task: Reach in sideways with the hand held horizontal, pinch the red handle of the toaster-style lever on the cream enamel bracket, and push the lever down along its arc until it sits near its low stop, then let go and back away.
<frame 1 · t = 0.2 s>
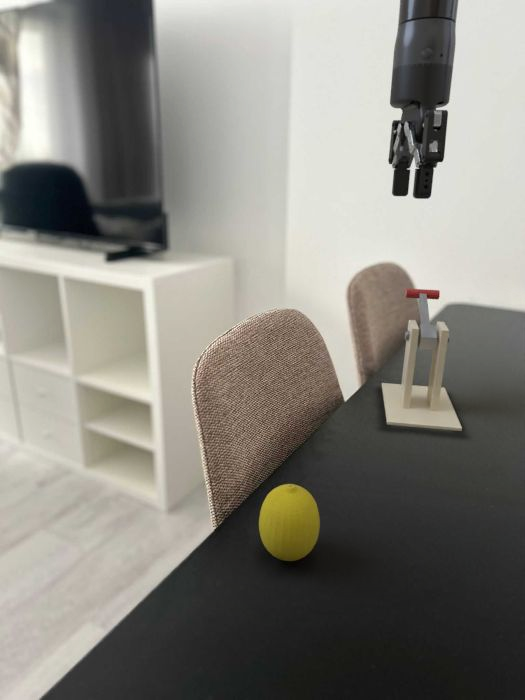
hand: (409, 197, 71), 31 cm above the table, tool pointing down, fingers open, 8 cm apart
lemon: (287, 560, 48), on the table
lever: (424, 315, 77), point 14 cm above the table, hinge at 25.0°
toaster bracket: (417, 412, 77), on the table
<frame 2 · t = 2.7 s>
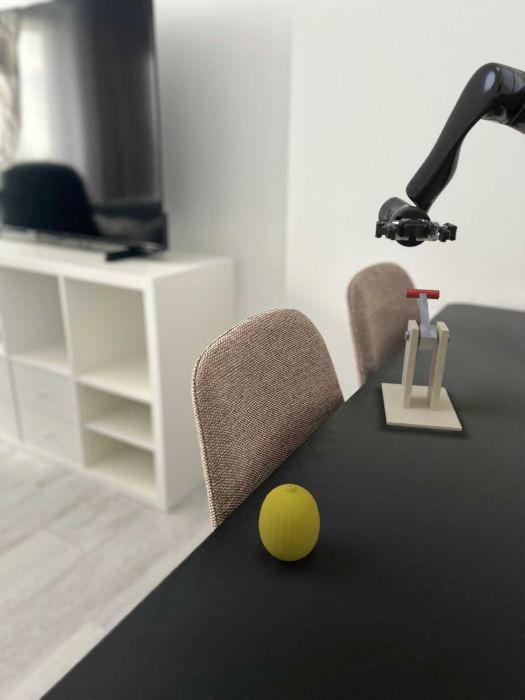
hand: (419, 235, 88), 24 cm above the table, tool horizontal, fingers open, 8 cm apart
nothing on the table moved.
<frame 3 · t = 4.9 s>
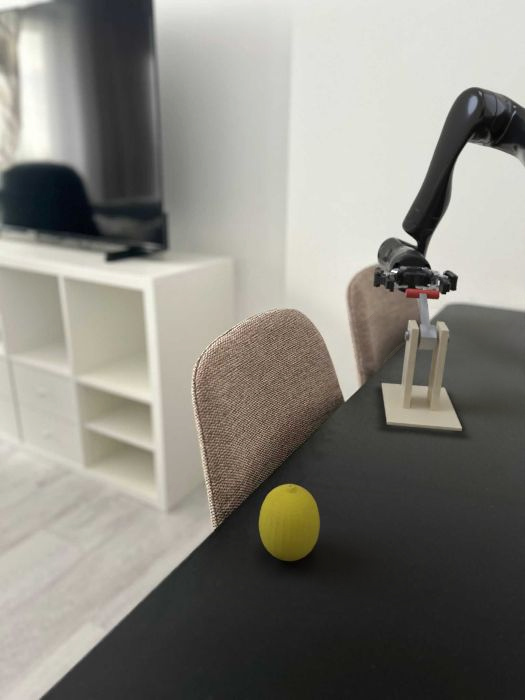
hand: (418, 287, 85), 16 cm above the table, tool horizontal, fingers open, 8 cm apart
nothing on the table moved.
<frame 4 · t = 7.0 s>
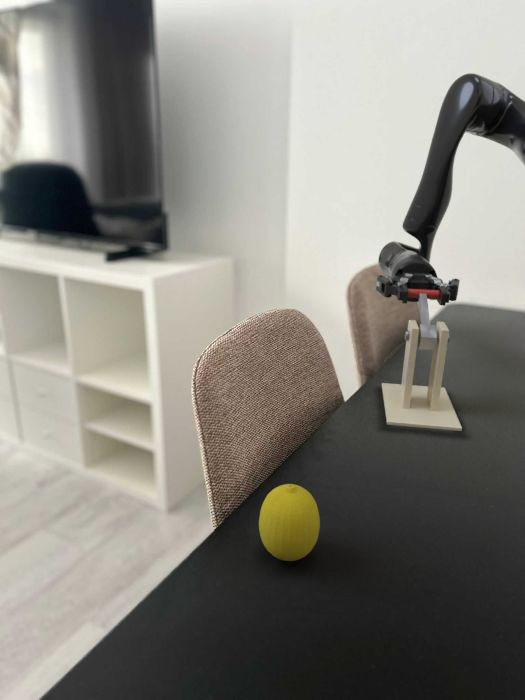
hand: (424, 297, 78), 16 cm above the table, tool horizontal, fingers closed on lever, 5 cm apart
lever: (424, 315, 77), point 14 cm above the table, hinge at 25.0°, touching gripper
everything else where it was.
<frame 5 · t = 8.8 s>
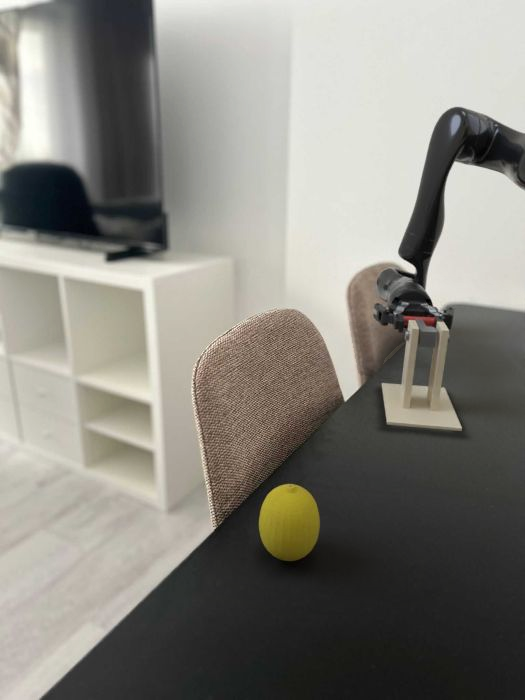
hand: (420, 327, 81), 11 cm above the table, tool horizontal, fingers closed on lever, 5 cm apart
lever: (422, 329, 78), point 12 cm above the table, hinge at -2.7°, touching gripper
everything else where it was.
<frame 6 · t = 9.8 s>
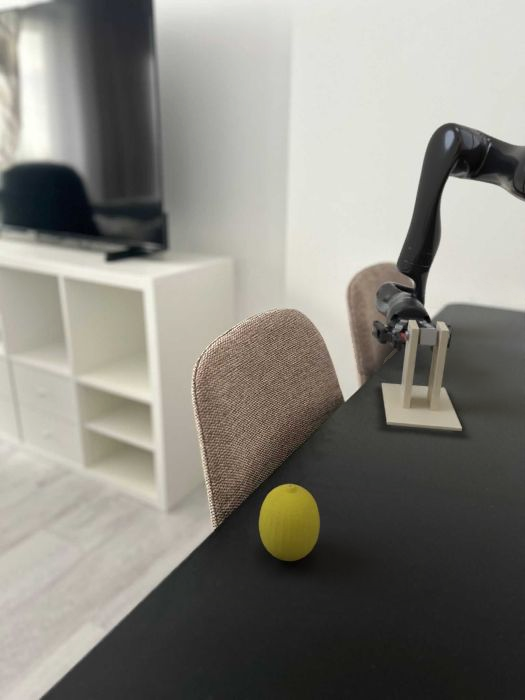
hand: (418, 346, 81), 8 cm above the table, tool horizontal, fingers closed on lever, 5 cm apart
lever: (421, 337, 78), point 10 cm above the table, hinge at -19.2°, touching gripper
everything else where it was.
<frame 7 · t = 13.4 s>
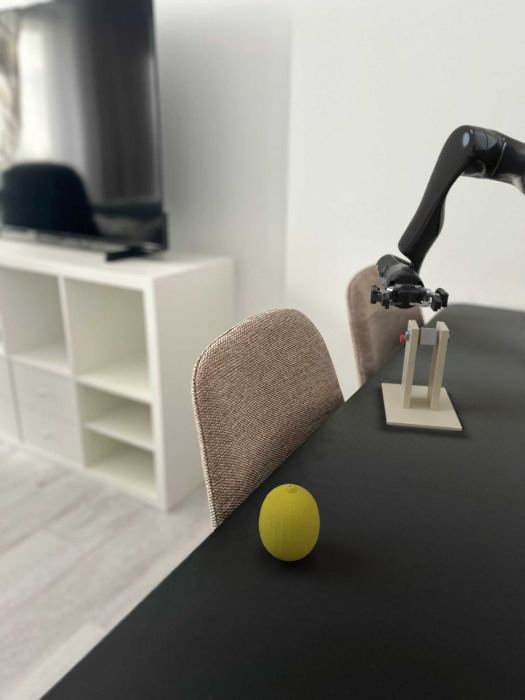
hand: (411, 304, 92), 12 cm above the table, tool horizontal, fingers open, 8 cm apart
lever: (421, 338, 78), point 10 cm above the table, hinge at -20.3°
everything else where it was.
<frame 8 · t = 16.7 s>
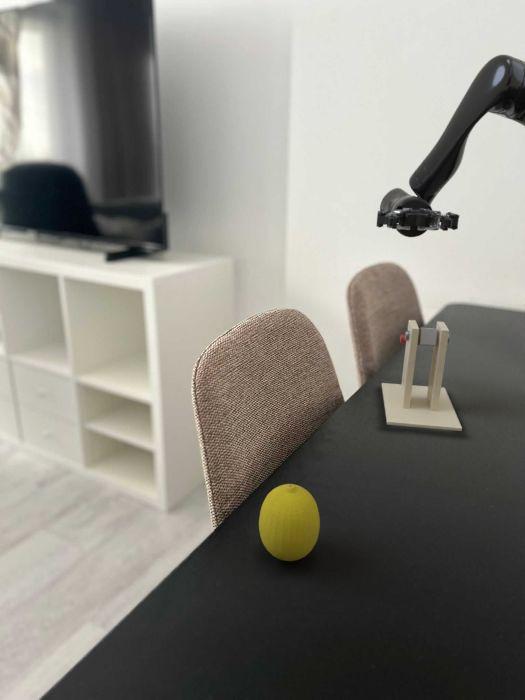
hand: (420, 223, 88), 26 cm above the table, tool horizontal, fingers open, 8 cm apart
nothing on the table moved.
at the end: lever at -20° (first picture: +25°); lemon moved 0.2 cm from its start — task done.
